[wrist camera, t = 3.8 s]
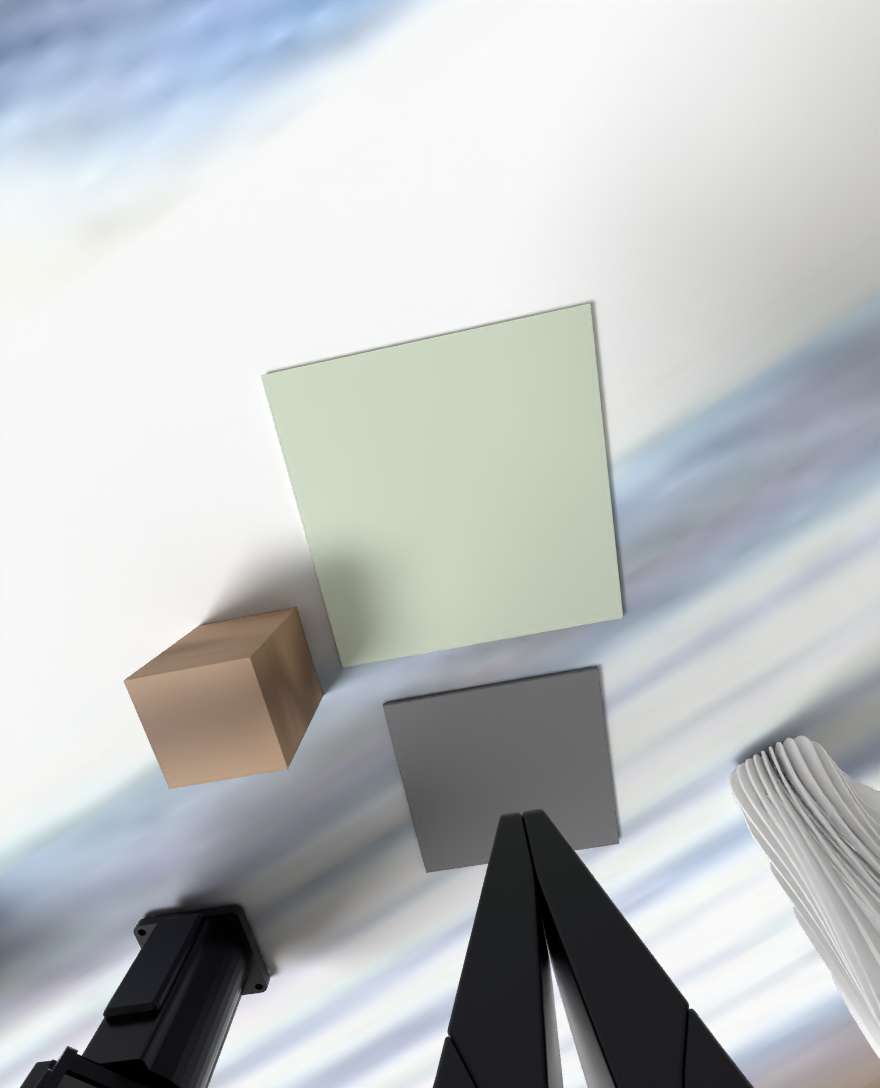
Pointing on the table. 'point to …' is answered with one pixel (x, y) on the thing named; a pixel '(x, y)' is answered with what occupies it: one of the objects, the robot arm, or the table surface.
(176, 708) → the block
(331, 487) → the mat
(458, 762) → the mat
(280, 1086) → the table surface
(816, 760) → the shell sculpture
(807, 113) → the table surface
